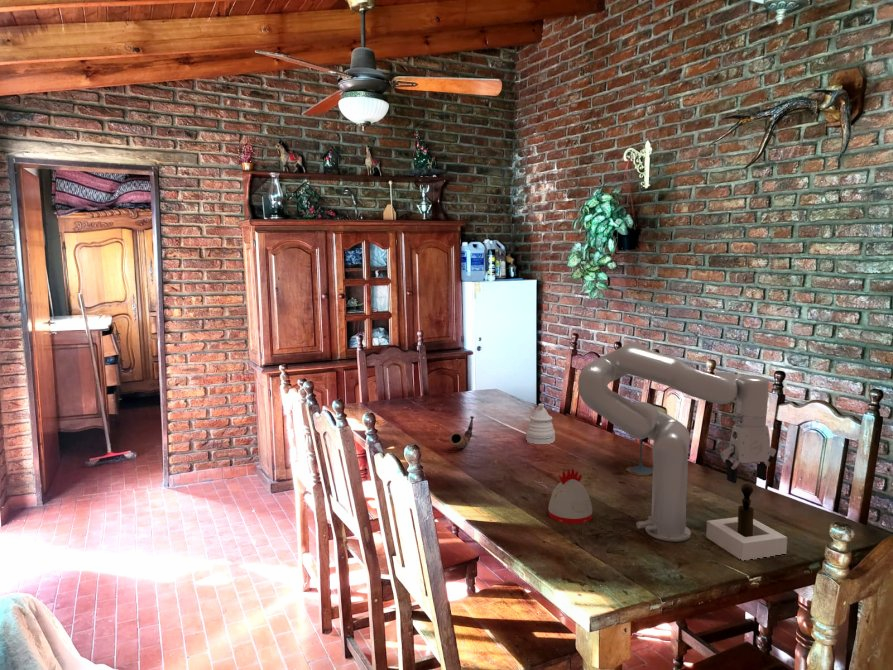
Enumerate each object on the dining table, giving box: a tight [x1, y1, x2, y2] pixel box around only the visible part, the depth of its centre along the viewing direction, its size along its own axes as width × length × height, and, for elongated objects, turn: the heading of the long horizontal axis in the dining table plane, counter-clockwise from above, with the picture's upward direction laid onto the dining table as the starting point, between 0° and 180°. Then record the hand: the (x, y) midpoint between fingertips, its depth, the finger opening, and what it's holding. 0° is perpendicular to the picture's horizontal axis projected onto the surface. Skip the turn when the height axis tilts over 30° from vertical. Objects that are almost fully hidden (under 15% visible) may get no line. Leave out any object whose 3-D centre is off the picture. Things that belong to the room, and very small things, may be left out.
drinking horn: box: [449, 415, 475, 450], centre depth 273 cm, size 5×29×10 cm, turn 163°
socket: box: [705, 516, 788, 562], centre depth 174 cm, size 14×15×5 cm
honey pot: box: [525, 403, 556, 444], centre depth 276 cm, size 13×13×18 cm
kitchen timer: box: [547, 468, 593, 525], centre depth 196 cm, size 14×14×15 cm
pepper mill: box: [737, 483, 755, 537], centre depth 174 cm, size 7×6×18 cm
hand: (746, 480), depth 173 cm, fingers open, 9 cm apart
